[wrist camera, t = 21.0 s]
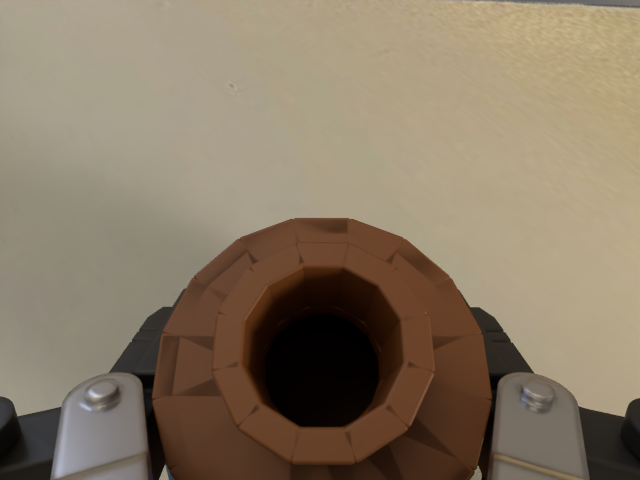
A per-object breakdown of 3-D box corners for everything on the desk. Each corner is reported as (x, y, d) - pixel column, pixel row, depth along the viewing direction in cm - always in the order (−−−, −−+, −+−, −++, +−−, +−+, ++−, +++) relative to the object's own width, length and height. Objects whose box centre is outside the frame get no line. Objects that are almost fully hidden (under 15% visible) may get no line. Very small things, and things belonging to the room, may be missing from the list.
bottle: (394, 325, 17) (505, 156, 7) (405, 495, 14) (601, 620, 4) (247, 325, 17) (139, 156, 7) (235, 494, 14) (44, 621, 4)
